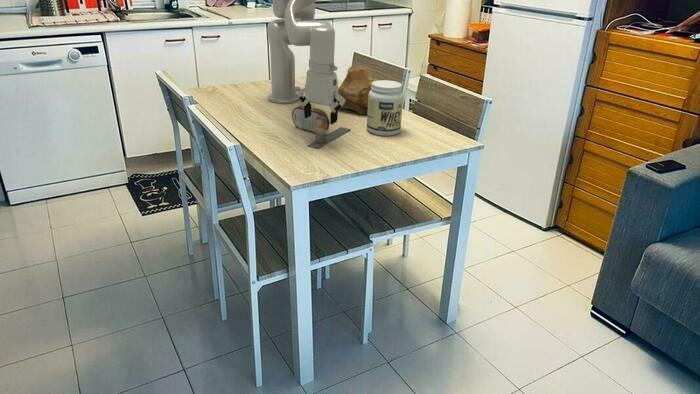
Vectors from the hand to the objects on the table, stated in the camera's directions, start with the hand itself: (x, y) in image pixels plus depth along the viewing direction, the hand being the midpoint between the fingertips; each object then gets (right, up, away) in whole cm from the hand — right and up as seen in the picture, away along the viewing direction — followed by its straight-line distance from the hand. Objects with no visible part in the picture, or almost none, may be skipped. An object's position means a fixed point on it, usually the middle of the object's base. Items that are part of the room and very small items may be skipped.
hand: (320, 120), depth 172 cm
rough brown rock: (+12, +10, +39) cm, 42 cm away
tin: (-4, -2, +14) cm, 14 cm away
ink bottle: (-6, +25, +68) cm, 72 cm away
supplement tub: (+21, -2, +16) cm, 27 cm away
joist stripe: (+3, -5, +8) cm, 9 cm away
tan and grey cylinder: (0, -7, +3) cm, 7 cm away
